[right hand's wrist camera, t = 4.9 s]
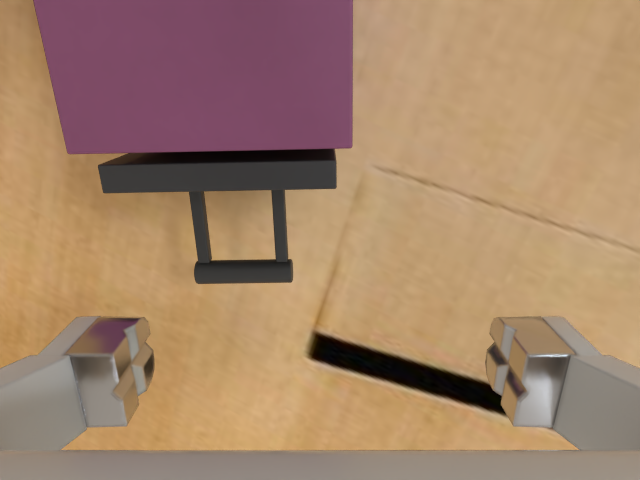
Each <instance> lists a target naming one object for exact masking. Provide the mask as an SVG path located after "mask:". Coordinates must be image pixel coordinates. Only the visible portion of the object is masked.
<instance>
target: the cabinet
mask: <svg viewBox="0 0 640 480" xmlns="http://www.w3.org/2000/svg"><path fill="white" fill-rule="evenodd" d="M33 1H34V6H35V10H36V15H37V19H38V24H39V28H40V33H41V37H42V41H43V46H44V50H45V55H46V59H47V64H48V68H49V73H50V77H51V82H52V86H53V91H54V95H55V100H56V104H57V109H58V113H59V118H60V122H61V126H62V131H63V135H64V140H65V144H66V149H67V153H68V154H104V153H151V152H198V151H246V150H293V149H340V148H352V103H353V0H33Z"/></svg>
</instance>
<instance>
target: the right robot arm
mask: <svg viewBox="0 0 640 480" xmlns="http://www.w3.org/2000/svg"><path fill="white" fill-rule="evenodd" d="M149 335H150V329H149V324H148V321H147V320H146V319H145V317H111V316H103V317H101V316H81V317H76V318H75V319H74V320H73V321H72V322H71V323H70V324H69V325H68V326H67V327H66V328H65V329H64V330H63V331H62V332H61V333H60V334H59V335H58V336H57V337H56V338H55V339H54V340H53V341H52V342H51V343H50V344H49V345H48V346H46V347H45V348H44V349H43V350H42V351H41V352H40V353H39V354H38V355H30V356H28V357H25V358H23V359H21V360H18V361H16V362H14V363H11V364H9V365H7V366H4V367H2V368H0V480H640V368H638V367H635V366H633V365H631V364H629V363H626V362H624V361H622V360H619V359H617V358H615V357H612V356H610V355H602V354H601V353H600V352H599V351H598V350H597V349H596V348H595V347H594V346H593V345H592V344H590V343H589V342H588V341H587V340H586V339H585V338H584V337H583V336H582V335H581V334H580V333H579V332H578V331H577V330H576V329H575V328H574V327H573V326H572V325H571V324H570V323H569V322H568V321H567V320H566V319H565V318H563V317H560V316H542V317H541V316H540V317H499V318H494V319H493V321H492V324H491V328H490V335H491V337H492V338H493V340H494V341H495V342H494V343H493V344H492V345H491V346H490V347H489V348H488V349H487V354H486V362H485V363H486V374H487V377H488V380H489V383H490V385H491V387H492V389H493V391H495V392H497V393H498V394H500V395H501V396H502V401H501V405H502V407H503V409H504V411H505V412H506V414H507V416H508V418H509V420H510V421H511V423H512V425H513V426H521V427H553V429H554V430H555V431H556V432H557V433H559V434H560V435H561V436H563V437H564V438H565V439H566V440H568V441H569V442H570V443H572V444H573V445H574V446H576V447H577V448H578V449H579V450H61V449H62V448H63V447H65V446H66V445H67V444H68V443H70V442H71V441H72V440H74V439H75V438H76V437H78V436H79V435H80V434H81V433H83V432H84V431H85V430H87V427H118V426H127V425H128V423H129V421H130V420H131V418H132V416H133V414H134V412H135V411H136V409H137V407H138V405H139V401H138V396H139V395H140V394H142V393H143V392H145V391H146V390H147V389H148V387H149V385H150V383H151V381H152V377H153V372H154V353H153V349H152V348H151V347H150V346H149V345H148V344H147V343H146V342H145V341H146V340H147V338H148V337H149Z"/></svg>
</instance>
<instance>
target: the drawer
mask: <svg viewBox="0 0 640 480" xmlns="http://www.w3.org/2000/svg"><path fill="white" fill-rule="evenodd" d="M98 169H99V174H100V179H101V184H102V189H103V193H141V192H189V195H190V202H191V210H192V217H193V225H194V233H195V240H196V248H197V256H198V261H197V262H196V264H195V268H194V276H195V281H196V283H198V284H222V283H287V282H292V280H293V262H292V260H291V259H288V245H287V226H286V206H285V190H295V189H336V187H337V186H336V155H335V149H293V150H246V151H198V152H151V153H128V154H126V155H123V156H121V157H118V158H115V159H113V160H110V161H108V162H105V163H102V164H100V165H98ZM244 190H272V205H273V221H274V237H275V253H276V259H273V260H212V261H211V259H212V256H211V248H210V240H209V231H208V223H207V214H206V206H205V197H204V191H244Z"/></svg>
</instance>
